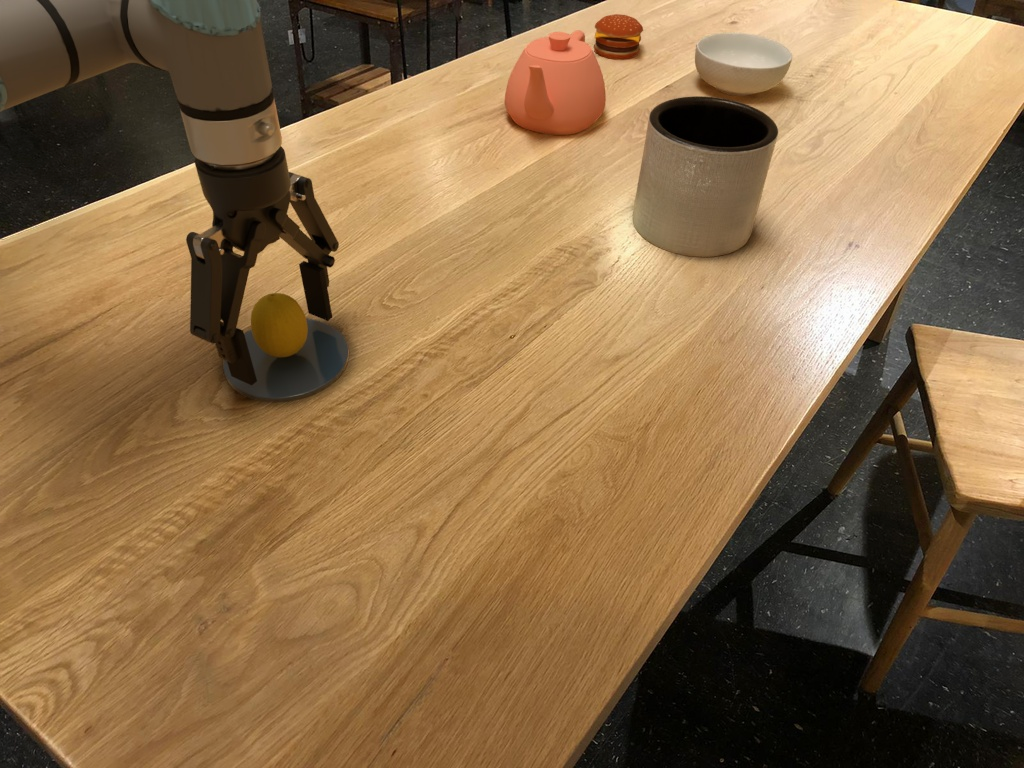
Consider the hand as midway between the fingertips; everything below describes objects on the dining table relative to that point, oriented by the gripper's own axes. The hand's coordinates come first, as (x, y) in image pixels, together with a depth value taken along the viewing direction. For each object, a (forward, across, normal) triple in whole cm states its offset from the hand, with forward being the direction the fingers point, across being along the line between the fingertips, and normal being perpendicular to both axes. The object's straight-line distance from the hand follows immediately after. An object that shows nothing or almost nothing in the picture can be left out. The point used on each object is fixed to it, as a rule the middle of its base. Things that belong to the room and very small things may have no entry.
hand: (284, 345), depth 80 cm
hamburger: (+3, +106, +6) cm, 106 cm away
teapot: (+3, +71, +4) cm, 71 cm away
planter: (+3, +49, -28) cm, 57 cm away
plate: (+3, 0, 0) cm, 3 cm away
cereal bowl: (+3, +101, -20) cm, 103 cm away
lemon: (+2, 0, 0) cm, 2 cm away
